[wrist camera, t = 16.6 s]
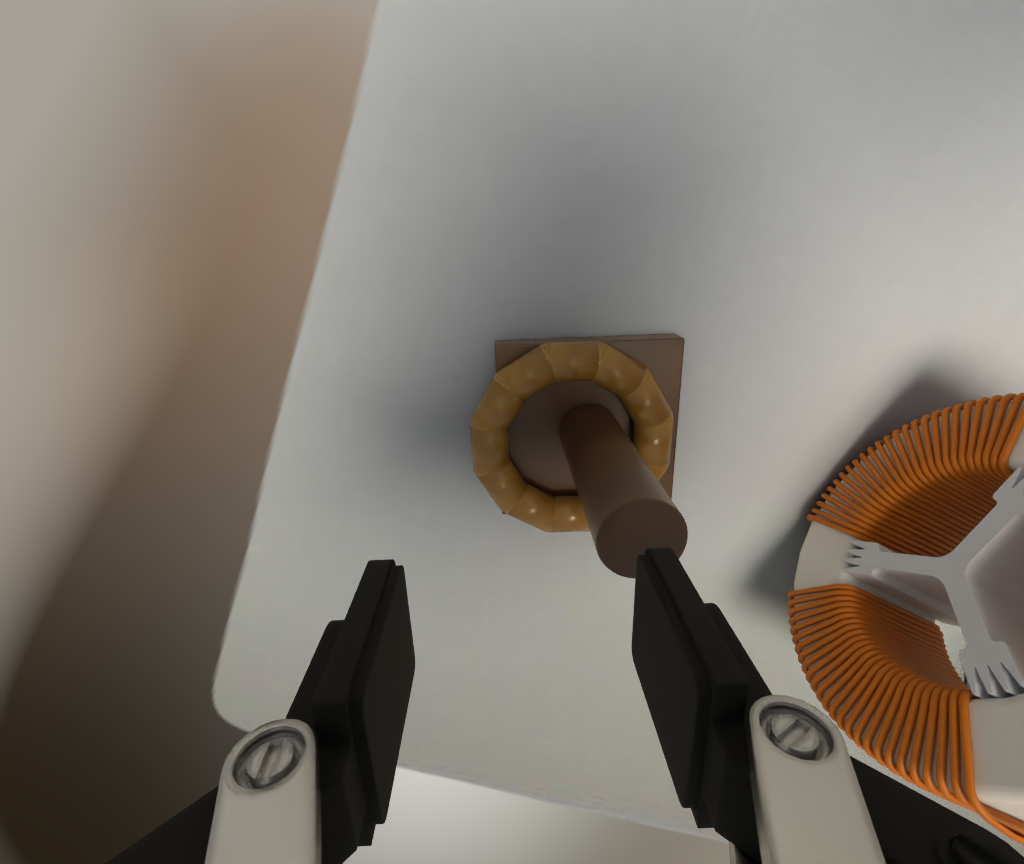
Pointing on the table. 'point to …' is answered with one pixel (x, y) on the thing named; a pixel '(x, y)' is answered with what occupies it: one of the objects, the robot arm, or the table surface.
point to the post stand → (601, 450)
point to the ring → (536, 375)
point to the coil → (926, 605)
